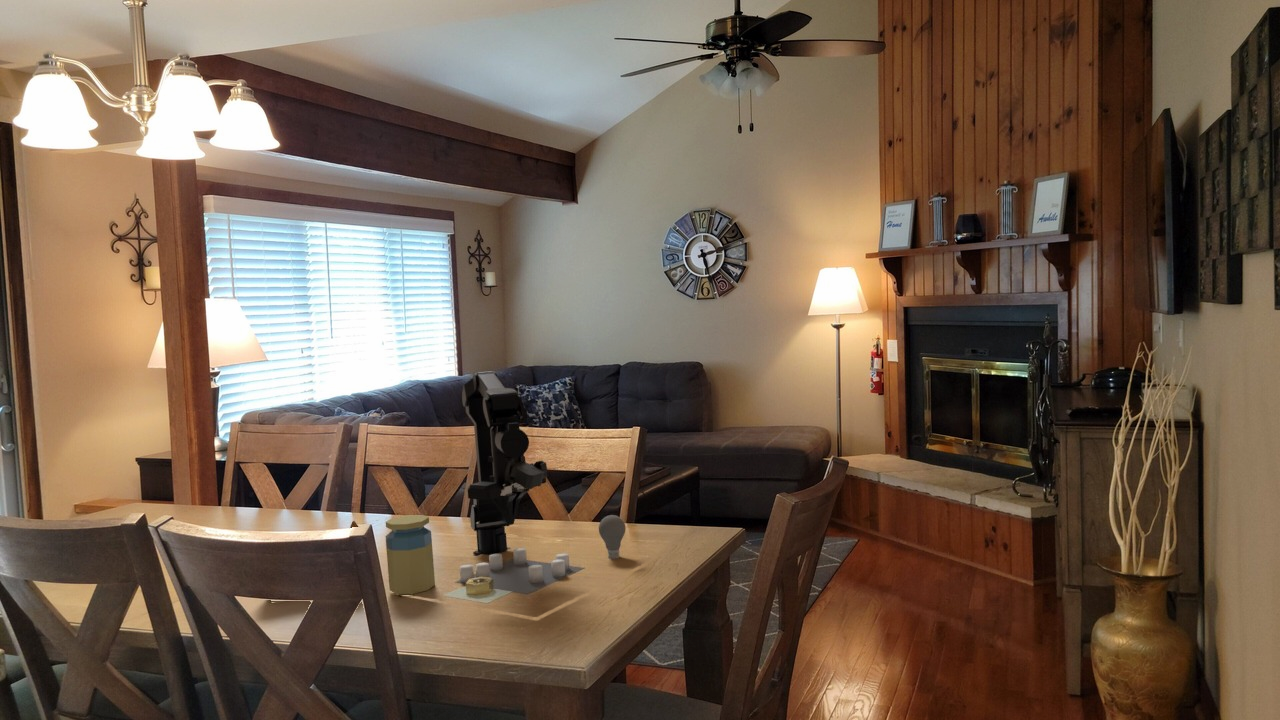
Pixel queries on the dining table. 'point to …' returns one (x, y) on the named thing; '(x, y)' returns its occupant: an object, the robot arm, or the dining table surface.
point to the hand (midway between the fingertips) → (510, 524)
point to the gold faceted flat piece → (479, 586)
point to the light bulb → (612, 534)
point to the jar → (409, 555)
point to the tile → (483, 598)
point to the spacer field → (520, 572)
